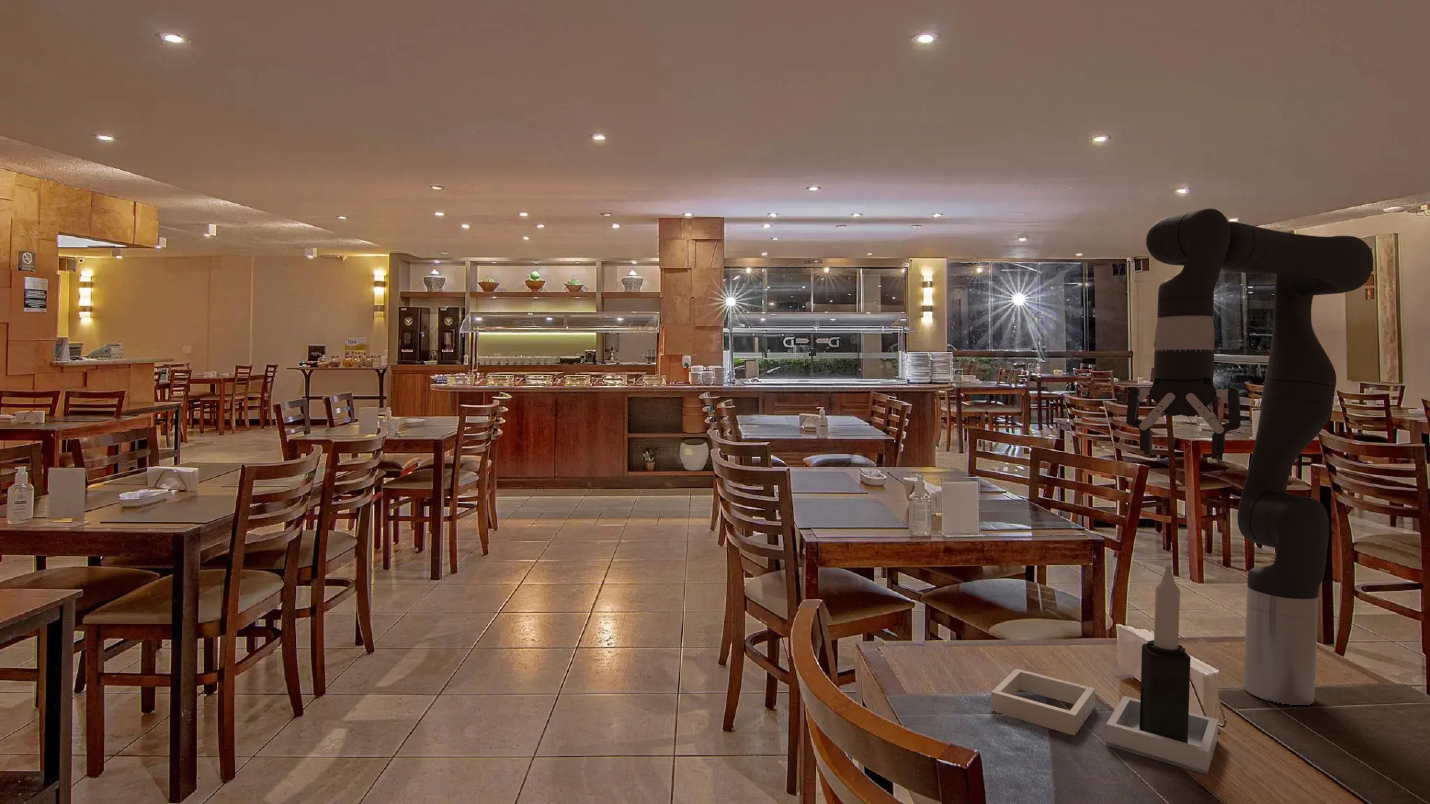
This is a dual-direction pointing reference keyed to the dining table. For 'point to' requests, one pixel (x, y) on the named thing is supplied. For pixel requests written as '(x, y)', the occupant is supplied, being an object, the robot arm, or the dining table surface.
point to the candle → (1165, 669)
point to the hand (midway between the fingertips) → (1180, 456)
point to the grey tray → (1163, 738)
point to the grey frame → (1041, 712)
